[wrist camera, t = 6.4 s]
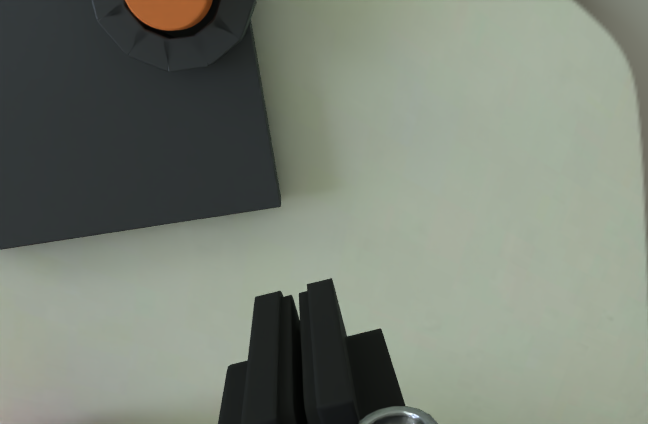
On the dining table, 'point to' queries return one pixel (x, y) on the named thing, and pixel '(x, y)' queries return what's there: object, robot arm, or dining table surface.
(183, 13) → the button
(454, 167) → the dining table surface
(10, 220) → the scale
